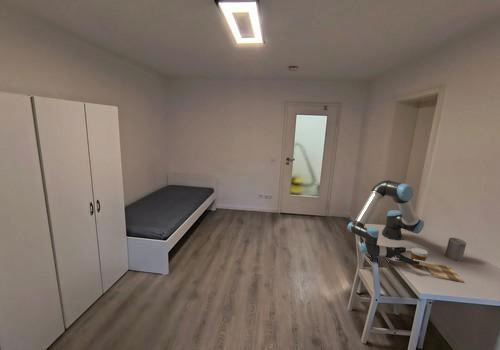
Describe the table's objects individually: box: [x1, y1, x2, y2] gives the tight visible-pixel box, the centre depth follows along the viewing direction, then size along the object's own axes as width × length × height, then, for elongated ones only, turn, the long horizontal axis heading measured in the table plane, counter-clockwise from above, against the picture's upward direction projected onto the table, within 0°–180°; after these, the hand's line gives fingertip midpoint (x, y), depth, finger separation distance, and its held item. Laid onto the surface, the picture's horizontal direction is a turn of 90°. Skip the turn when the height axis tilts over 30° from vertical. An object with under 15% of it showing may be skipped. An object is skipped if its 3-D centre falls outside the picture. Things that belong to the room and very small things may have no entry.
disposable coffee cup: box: [410, 247, 429, 270], centre depth 155 cm, size 10×10×12 cm
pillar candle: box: [444, 237, 467, 262], centre depth 168 cm, size 10×10×15 cm
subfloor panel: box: [424, 261, 465, 284], centre depth 151 cm, size 17×16×1 cm
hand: (420, 257), depth 154 cm, fingers open, 13 cm apart
